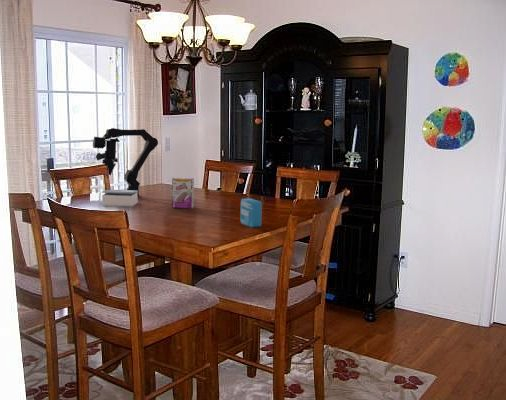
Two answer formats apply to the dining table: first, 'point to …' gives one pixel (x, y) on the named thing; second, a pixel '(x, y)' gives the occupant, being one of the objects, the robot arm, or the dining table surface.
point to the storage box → (119, 199)
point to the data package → (251, 212)
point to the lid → (119, 191)
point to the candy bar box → (182, 192)
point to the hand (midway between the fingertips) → (109, 175)
